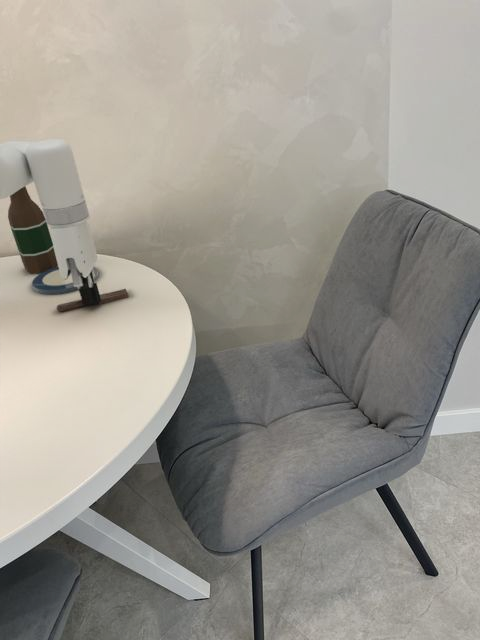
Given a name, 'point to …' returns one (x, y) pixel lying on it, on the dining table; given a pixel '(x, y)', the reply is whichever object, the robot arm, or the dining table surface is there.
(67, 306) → the brown wooden dowel
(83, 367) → the dining table surface
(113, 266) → the dining table surface
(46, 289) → the plate
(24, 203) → the beer bottle
